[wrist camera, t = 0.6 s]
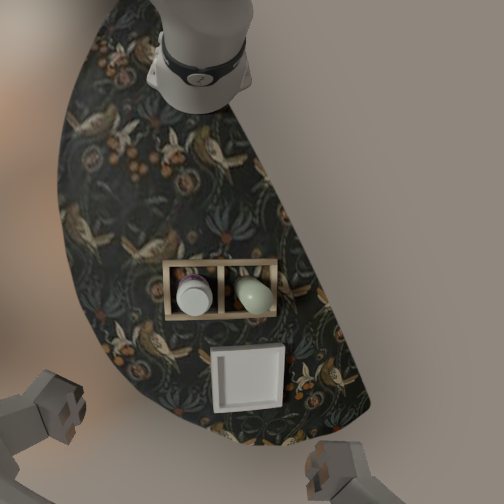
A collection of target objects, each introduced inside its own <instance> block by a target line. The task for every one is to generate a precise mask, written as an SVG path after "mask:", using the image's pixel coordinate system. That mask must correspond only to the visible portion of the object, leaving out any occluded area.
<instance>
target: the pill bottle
mask: <svg viewBox="0 0 504 504" xmlns="http://www.w3.org/2000/svg"><path fill="white" fill-rule="evenodd" d="M177 303H178V305H179V307H180V309H181V310H182V311H183V312H185V313H186V314H188V315H190V316H199V315H202V314H203V313H205V312H206V311H207V310H208V309H209V308H210V306H211V304H212V292H211V289H210V287H209V284H208V282H207V281H206V279H205V278H203V277H202V276H200V275H197V274H191V275H188V276H186V277H184V278H183V279H182V280H181V282H180V284H179V287H178V291H177Z"/></svg>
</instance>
